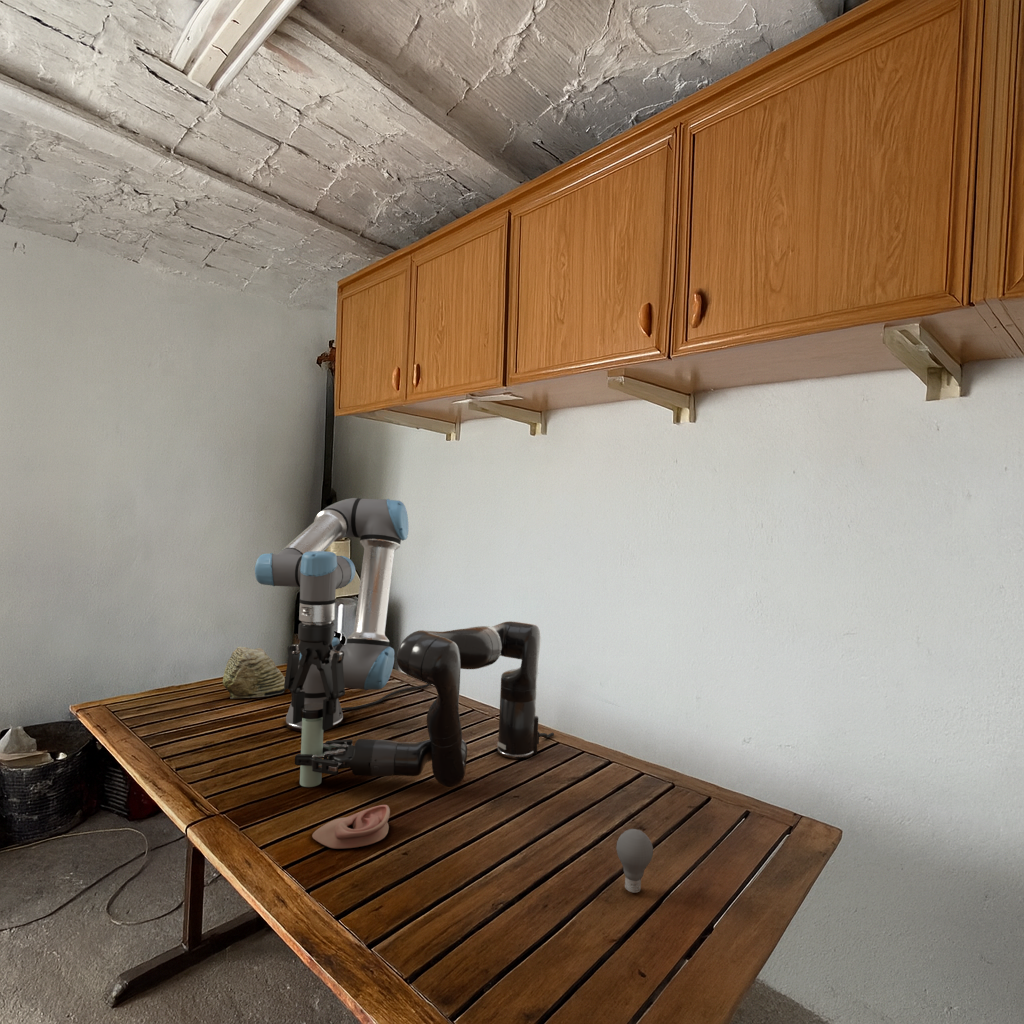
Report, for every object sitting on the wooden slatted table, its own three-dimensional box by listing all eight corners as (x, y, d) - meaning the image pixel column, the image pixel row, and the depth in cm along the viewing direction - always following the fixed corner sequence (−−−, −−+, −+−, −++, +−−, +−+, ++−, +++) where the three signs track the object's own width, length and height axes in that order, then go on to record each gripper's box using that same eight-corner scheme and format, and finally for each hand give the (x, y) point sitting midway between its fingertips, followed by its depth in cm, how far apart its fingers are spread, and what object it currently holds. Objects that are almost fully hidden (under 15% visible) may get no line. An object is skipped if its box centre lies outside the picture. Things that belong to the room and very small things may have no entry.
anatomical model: (304, 822, 115) (334, 794, 126) (303, 844, 115) (333, 813, 126) (372, 833, 112) (397, 803, 124) (371, 855, 113) (396, 823, 124)
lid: (323, 710, 144) (323, 701, 143) (328, 717, 139) (328, 708, 139) (298, 712, 141) (299, 704, 141) (302, 720, 136) (303, 711, 136)
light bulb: (610, 879, 108) (613, 822, 108) (644, 879, 109) (647, 822, 109) (619, 902, 102) (622, 840, 102) (655, 901, 103) (658, 840, 103)
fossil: (218, 695, 195) (220, 647, 195) (278, 685, 208) (279, 640, 207) (228, 703, 189) (230, 653, 188) (289, 692, 201) (290, 645, 201)
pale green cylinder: (314, 788, 137) (317, 714, 137) (295, 785, 138) (298, 712, 138) (325, 779, 142) (328, 708, 142) (306, 776, 143) (309, 705, 143)
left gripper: (268, 619, 140) (264, 722, 140) (344, 630, 132) (339, 738, 133) (292, 614, 147) (288, 712, 147) (365, 624, 139) (361, 727, 140)
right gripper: (383, 729, 147) (309, 726, 147) (370, 753, 133) (288, 750, 133) (382, 761, 147) (308, 758, 147) (368, 789, 133) (287, 786, 133)
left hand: (312, 724), depth 140 cm, fingers open, 7 cm apart
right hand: (299, 754), depth 140 cm, fingers closed on pale green cylinder, 4 cm apart
